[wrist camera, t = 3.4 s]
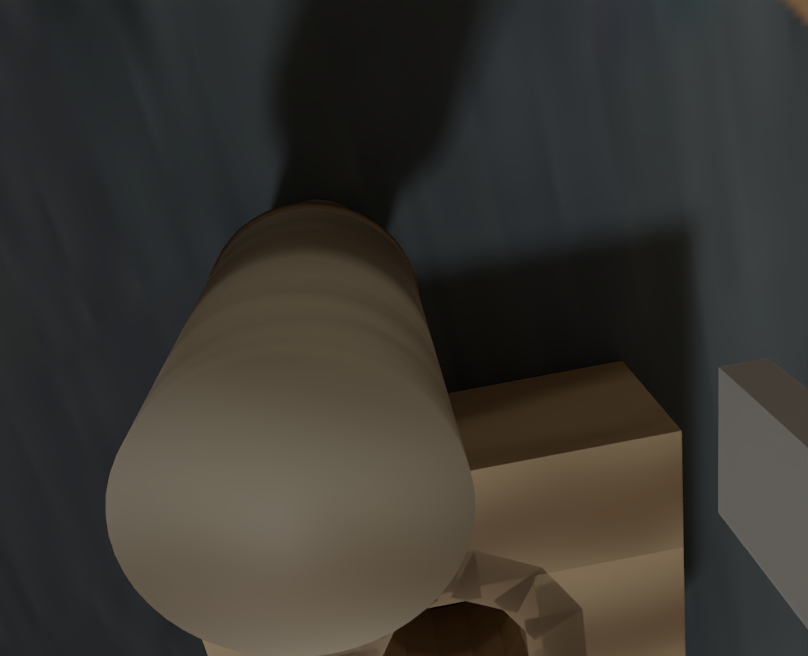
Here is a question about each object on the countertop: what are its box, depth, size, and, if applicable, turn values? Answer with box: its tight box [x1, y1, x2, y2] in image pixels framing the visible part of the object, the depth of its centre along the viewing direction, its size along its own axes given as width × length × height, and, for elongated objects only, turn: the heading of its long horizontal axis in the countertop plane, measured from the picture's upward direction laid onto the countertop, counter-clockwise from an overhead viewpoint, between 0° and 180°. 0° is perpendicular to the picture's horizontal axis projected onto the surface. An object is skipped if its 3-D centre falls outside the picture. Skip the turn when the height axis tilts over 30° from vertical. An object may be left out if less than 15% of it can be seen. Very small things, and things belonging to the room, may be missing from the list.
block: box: [202, 361, 685, 656], centre depth 27 cm, size 15×16×5 cm
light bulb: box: [106, 199, 476, 656], centre depth 17 cm, size 6×6×14 cm
